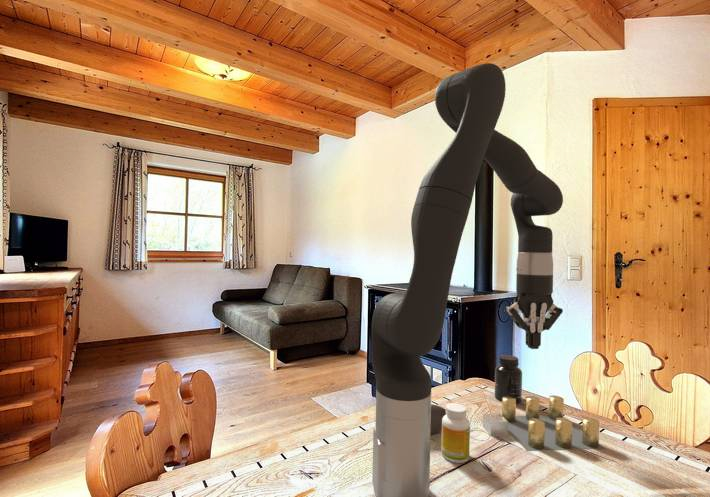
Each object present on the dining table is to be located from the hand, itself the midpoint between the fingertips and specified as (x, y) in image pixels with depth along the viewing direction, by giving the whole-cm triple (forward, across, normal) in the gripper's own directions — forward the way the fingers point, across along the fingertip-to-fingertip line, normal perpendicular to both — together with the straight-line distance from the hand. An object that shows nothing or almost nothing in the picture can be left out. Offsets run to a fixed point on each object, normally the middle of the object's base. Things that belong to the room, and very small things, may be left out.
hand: (533, 348), depth 83 cm
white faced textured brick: (+18, -9, -1) cm, 21 cm away
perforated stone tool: (+19, -26, 0) cm, 32 cm away
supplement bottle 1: (+19, -21, -9) cm, 30 cm away
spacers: (+19, +3, -2) cm, 19 cm away
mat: (+19, -1, -2) cm, 19 cm away
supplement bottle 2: (+19, +3, +16) cm, 25 cm away
